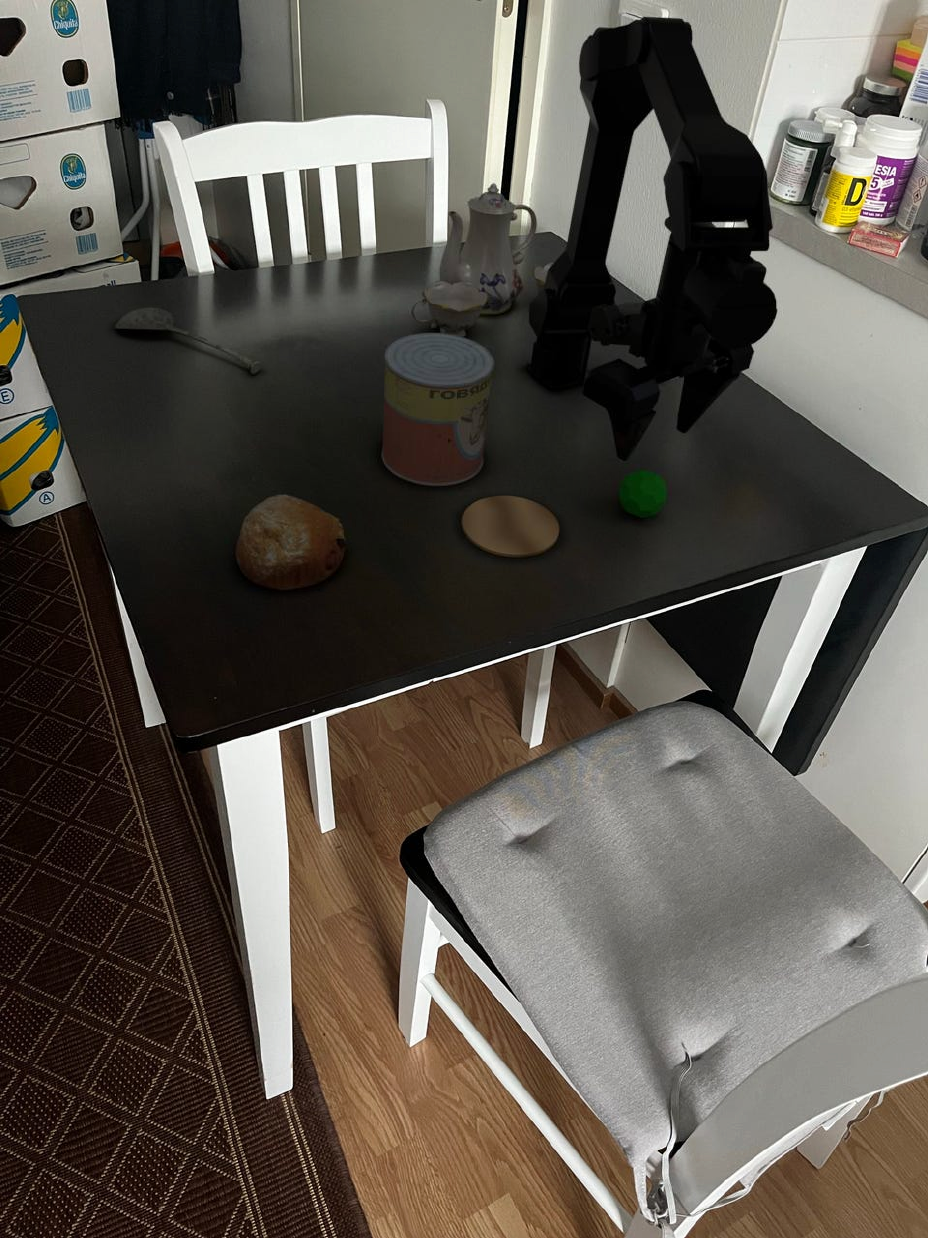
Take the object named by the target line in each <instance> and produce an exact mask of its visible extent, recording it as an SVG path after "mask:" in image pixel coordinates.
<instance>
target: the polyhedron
mask: <svg viewBox="0 0 928 1238" xmlns="http://www.w3.org/2000/svg"><path fill="white" fill-rule="evenodd" d="M667 491H668V489H667V484H666V482H665V481H664V478H663V477H662V476H661V475H659V474H657V473H656V472H653V471H650V470H648V469H639V470H636V471H633V472H631V473H628V474H627V475H626V476H625V477H624V479H622V481H621V482H620V485H619V492H618V493H619V494H618V499H619V504H620V505H621V507H622V509H623V511H625V512H627V513H629V514H631V515H634V516H635V517H638V518H641V519H644V518H648V517H651V516H652V517H653V516H654V515H656V514H658V513H659V512H660V511H661V510H662V509H663V508H664V506H665V505H666V500H667V494H668V493H667Z"/></svg>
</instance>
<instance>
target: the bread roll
mask: <svg viewBox="0 0 928 1238" xmlns="http://www.w3.org/2000/svg"><path fill="white" fill-rule="evenodd" d="M347 544H348V541H347V539H346V538H345V530H344V527H343V525H342V523H340V519H339V518H338V517H335V516H334V515H333V514H331V513H329V512H326V511H324V510H323V509H321V508H320V507H318V506H317V505H315V504H313V503H311V502H308V501H305V500H303V499H301V498H298V497H295V496H292V495H288V494H287V493H286V494H276V495H273V496H270V497H267V498H266V499H265V500H262V502H260V503H258V504H257V505H256V506H254V507H253V508H252V509H251V510H250V512H249V513H248V515H246V516H245V517H244V520H243V522H242V524H241V528H240V532H239V536H238V539H237V541H236V546H235V558H236V563H237V564H238V565H237V566H238V567H239V569H240V571H241V574H243V575H244V576H245V578H247V579H248V580H250V581H251V582H252V583H254V584H256V585H259V586H260V587H261V586H262V587H265V588H269V589H272V590H279V591H288V590H295V589H302V588H308V587H311V586H315V585H317V584H319V583H321V582H323V581H325V580H326V579H328V578H329V577H331V576H332V575H333V574H334V573H336V571H337V570H338V569H339V568H340V566H341V563H342V561H343V559H344V556H345V552H346V551H345V549H346V546H347Z"/></svg>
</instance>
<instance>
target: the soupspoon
mask: <svg viewBox="0 0 928 1238" xmlns="http://www.w3.org/2000/svg"><path fill="white" fill-rule="evenodd" d="M174 321H175V320H174V317H173V315H172V313H170V312H169V311H167V310H164V309H163V308H162V309H161V308H158V307H142V308H138V309H135V310H132V311H130V312H127V313H126V314H125V315H123V316H122V317H121V318H120V319H119V320H118V321H117V322H116V323H115V326H114V329H117V330H154V331H155V330H156V331H168V332H171V333H175V334H177V335H181V336H184V337H188V338H190V339H192V340H195V341H198V342H200V343H202V344H204V345H206V346H209V347H212V348H214V349H216V350H219V351H220V352H223V353H225V354H227V355H229V356H232V357H233V358H235V360H236V362H237V361H240V362H241V364H242V365H244V366H245V367H247V369H248V370H249V371H250V374H251V375H255V374H257V373H259V371H260V370H261V368H262V363H261V362H260V361H259V360H257V361H254V360H251V359H250V358H248V357H246V356H243V354H242V353H237V352H235V351H234V350H232V349H229V348H227V347H225V346H223V345H221V344H219V343H217V342H214V341H212V340H209V339H207V338H205V337H203V336H200V335H198V334H195V333H193V332H191V331H188V330H185V329H182V328H179V327H176V326H174Z"/></svg>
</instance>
